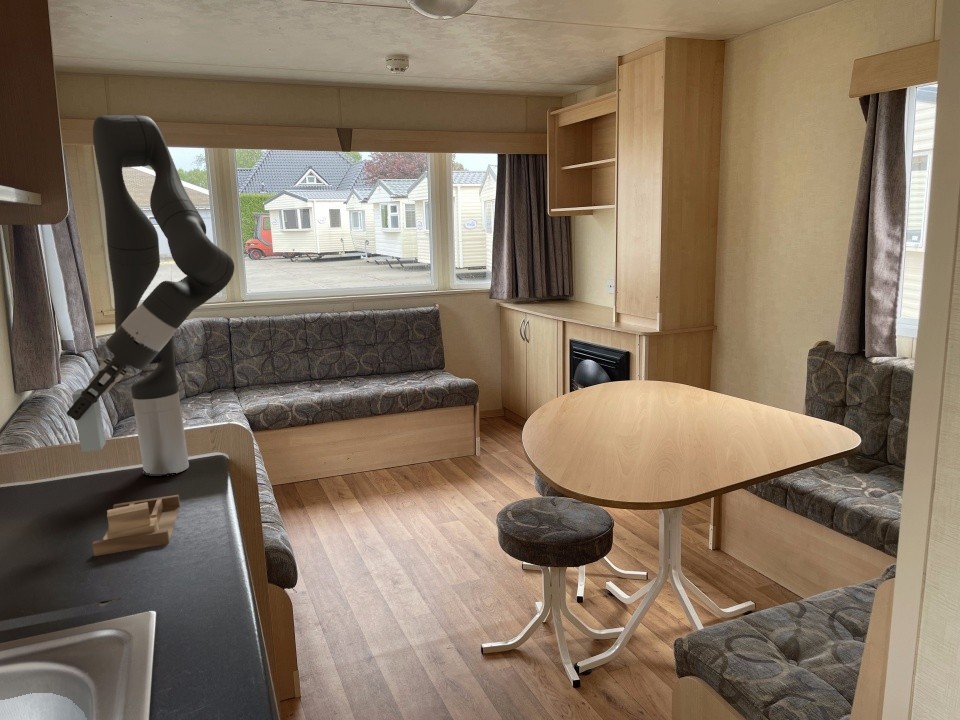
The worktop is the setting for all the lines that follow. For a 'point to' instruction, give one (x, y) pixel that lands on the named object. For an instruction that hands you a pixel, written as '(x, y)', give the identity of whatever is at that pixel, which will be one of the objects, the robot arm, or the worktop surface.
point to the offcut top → (128, 517)
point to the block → (90, 425)
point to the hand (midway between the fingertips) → (75, 413)
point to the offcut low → (135, 530)
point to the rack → (166, 519)
